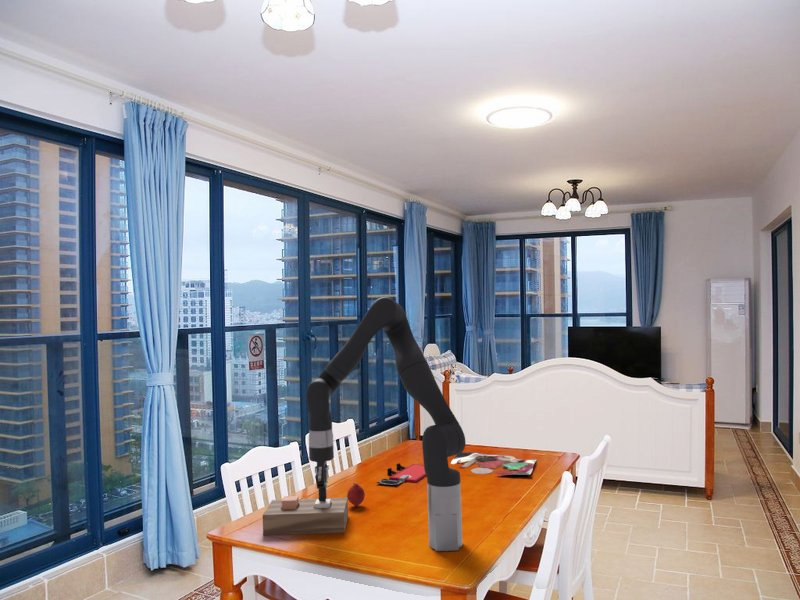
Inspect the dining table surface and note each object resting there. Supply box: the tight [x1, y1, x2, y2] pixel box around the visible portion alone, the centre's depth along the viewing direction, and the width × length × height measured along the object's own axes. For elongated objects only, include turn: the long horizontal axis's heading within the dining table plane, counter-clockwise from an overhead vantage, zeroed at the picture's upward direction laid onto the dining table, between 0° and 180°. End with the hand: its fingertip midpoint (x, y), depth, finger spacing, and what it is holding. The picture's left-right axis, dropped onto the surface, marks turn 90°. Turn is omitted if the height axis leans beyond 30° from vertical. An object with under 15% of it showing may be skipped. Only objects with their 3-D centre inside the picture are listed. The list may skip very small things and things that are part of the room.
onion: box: [346, 482, 366, 508], centre depth 204 cm, size 6×6×8 cm
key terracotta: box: [281, 495, 300, 509], centre depth 187 cm, size 4×4×4 cm
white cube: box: [315, 498, 331, 508], centre depth 187 cm, size 4×4×4 cm
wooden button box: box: [262, 497, 349, 536], centre depth 187 cm, size 14×24×6 cm, turn 90°
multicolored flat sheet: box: [450, 451, 537, 478], centre depth 253 cm, size 35×35×2 cm
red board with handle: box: [376, 462, 427, 486], centre depth 240 cm, size 30×3×15 cm
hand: (322, 500), depth 187 cm, fingers closed
